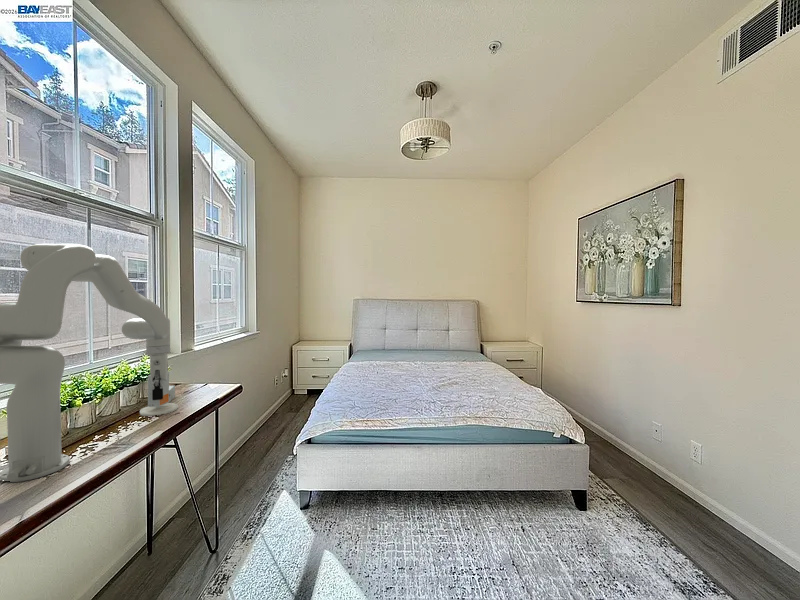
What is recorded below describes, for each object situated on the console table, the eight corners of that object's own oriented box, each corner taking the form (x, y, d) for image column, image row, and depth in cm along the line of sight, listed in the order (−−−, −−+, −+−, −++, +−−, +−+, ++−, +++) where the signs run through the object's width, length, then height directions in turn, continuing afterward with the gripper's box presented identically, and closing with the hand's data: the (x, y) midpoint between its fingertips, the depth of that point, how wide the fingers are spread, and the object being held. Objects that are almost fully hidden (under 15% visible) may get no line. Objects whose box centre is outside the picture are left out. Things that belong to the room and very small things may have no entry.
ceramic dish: (177, 413, 134) (177, 410, 134) (137, 418, 128) (137, 415, 128) (178, 403, 144) (178, 401, 144) (142, 408, 138) (142, 405, 138)
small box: (147, 404, 144) (147, 391, 144) (154, 398, 151) (154, 386, 151) (170, 402, 146) (169, 389, 146) (175, 396, 154) (175, 384, 154)
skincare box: (158, 407, 133) (158, 375, 132) (147, 407, 133) (147, 375, 132) (169, 402, 139) (169, 371, 138) (158, 402, 139) (158, 371, 138)
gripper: (168, 352, 129) (168, 401, 130) (171, 346, 144) (172, 389, 145) (142, 354, 126) (143, 404, 126) (149, 347, 141) (149, 392, 141)
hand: (158, 396), depth 136 cm, fingers closed on skincare box, 7 cm apart
